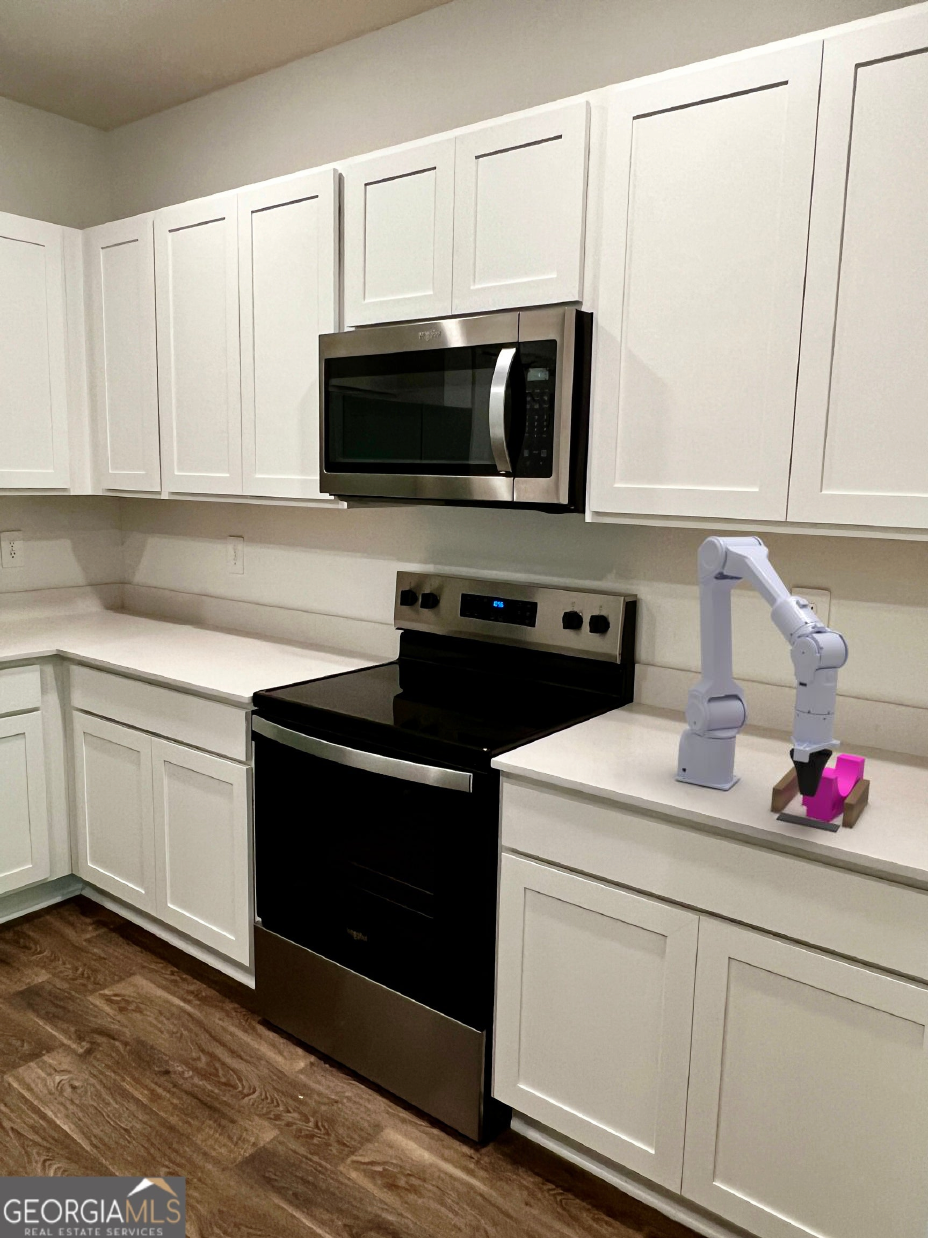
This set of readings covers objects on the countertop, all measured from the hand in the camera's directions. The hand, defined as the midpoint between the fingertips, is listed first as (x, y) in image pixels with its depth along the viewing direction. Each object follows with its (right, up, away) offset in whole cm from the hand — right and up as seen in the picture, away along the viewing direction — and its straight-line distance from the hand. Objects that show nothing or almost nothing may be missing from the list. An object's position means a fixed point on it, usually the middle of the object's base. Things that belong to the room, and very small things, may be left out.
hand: (807, 795), depth 141 cm
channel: (+6, -4, +10) cm, 12 cm away
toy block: (+7, -4, +11) cm, 14 cm away
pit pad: (+1, -5, +3) cm, 6 cm away
